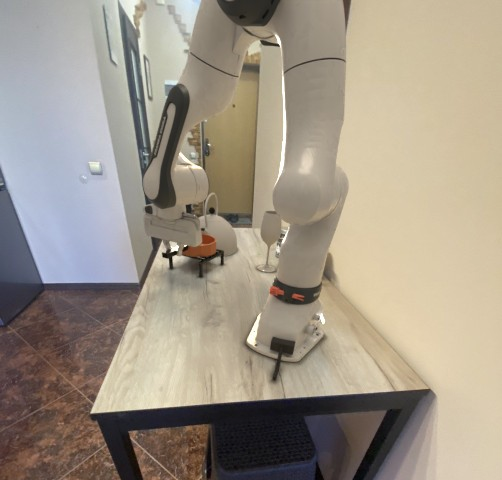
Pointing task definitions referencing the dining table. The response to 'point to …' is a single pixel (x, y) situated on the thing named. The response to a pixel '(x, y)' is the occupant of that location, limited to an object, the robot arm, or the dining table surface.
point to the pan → (195, 248)
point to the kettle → (218, 229)
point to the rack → (202, 260)
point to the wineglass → (270, 235)
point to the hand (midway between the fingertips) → (174, 254)
